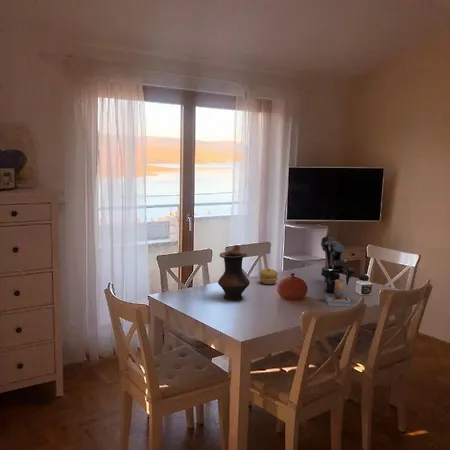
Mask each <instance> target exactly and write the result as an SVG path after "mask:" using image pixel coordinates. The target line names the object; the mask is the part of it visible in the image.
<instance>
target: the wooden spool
mask: <svg viewBox="0 0 450 450" xmlns="http://www.w3.org/2000/svg"><path fill="white" fill-rule="evenodd" d="M343 289H344V280H343V279H336V280H335V289H334V293H333V295H334V297H333V299H332V300H333V301H344V298H345V297H343V295H344V290H343Z"/></svg>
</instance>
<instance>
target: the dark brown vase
mask: <svg viewBox="0 0 450 450" xmlns="http://www.w3.org/2000/svg"><path fill="white" fill-rule="evenodd" d="M247 256H248V254H247V253H246V252H244V251H242V250H241V248H240V245H239V244H235V245H234V246H233V247H232V249H231V250H228V251H224V252H220V254H219V257H220V258H223V260H224V261H223V262H224V272H223V274H222V275H221V277H219V278H218V279H219V280H218V281H217V284H218V285H219V287H220V288H221V289H222V290H223V292H224V295H223V299H224V300H226V301H240V300H243V295H242V294H243V292H244V291H245V290H246V289H247V287H248V286H250V284H251V283H250V280H249V278H248V277H247V276H246V274H245V273H244V272H243V259H244V257H247Z"/></svg>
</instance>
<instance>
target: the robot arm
mask: <svg viewBox="0 0 450 450" xmlns="http://www.w3.org/2000/svg"><path fill="white" fill-rule="evenodd" d="M320 246H321V248H322V251H323V252H324V253H325V261H326V266H323V267H322V268H321V270H320V276H322V277H323V282H324V283H326V284H325V289H323V291H324V292H326V294H331V293H333V294H334V289H335V280H336V279H340V278H341V275H340V274H344V275H346V276H345V279H346V280H345V281H346V282H345V283H346V286H348V285H349V282H350V278H353V277H354V276H355V273H356V270H355V268H354V267H347V269H344V267H345V266H347V265H348V259H347V258H346V259H345V258H344V259H343V260H342V256H343V254H344V251H345V247H344V245H343V244H341V242H339V241H337V240H336V238H335V235H334V234H325V236H324V237H322V238H321V240H320ZM340 280H341V279H340Z"/></svg>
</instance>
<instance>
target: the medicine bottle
mask: <svg viewBox="0 0 450 450" xmlns="http://www.w3.org/2000/svg"><path fill="white" fill-rule="evenodd" d="M370 277H371V276H370V275H369V274H367V273H361V274H359V277H358V280H356V281H355V293H356V294H358V295H360V296H371V295H372V292H373V291H372V290H373V289H372V287H373V283H371V282H370Z"/></svg>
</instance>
